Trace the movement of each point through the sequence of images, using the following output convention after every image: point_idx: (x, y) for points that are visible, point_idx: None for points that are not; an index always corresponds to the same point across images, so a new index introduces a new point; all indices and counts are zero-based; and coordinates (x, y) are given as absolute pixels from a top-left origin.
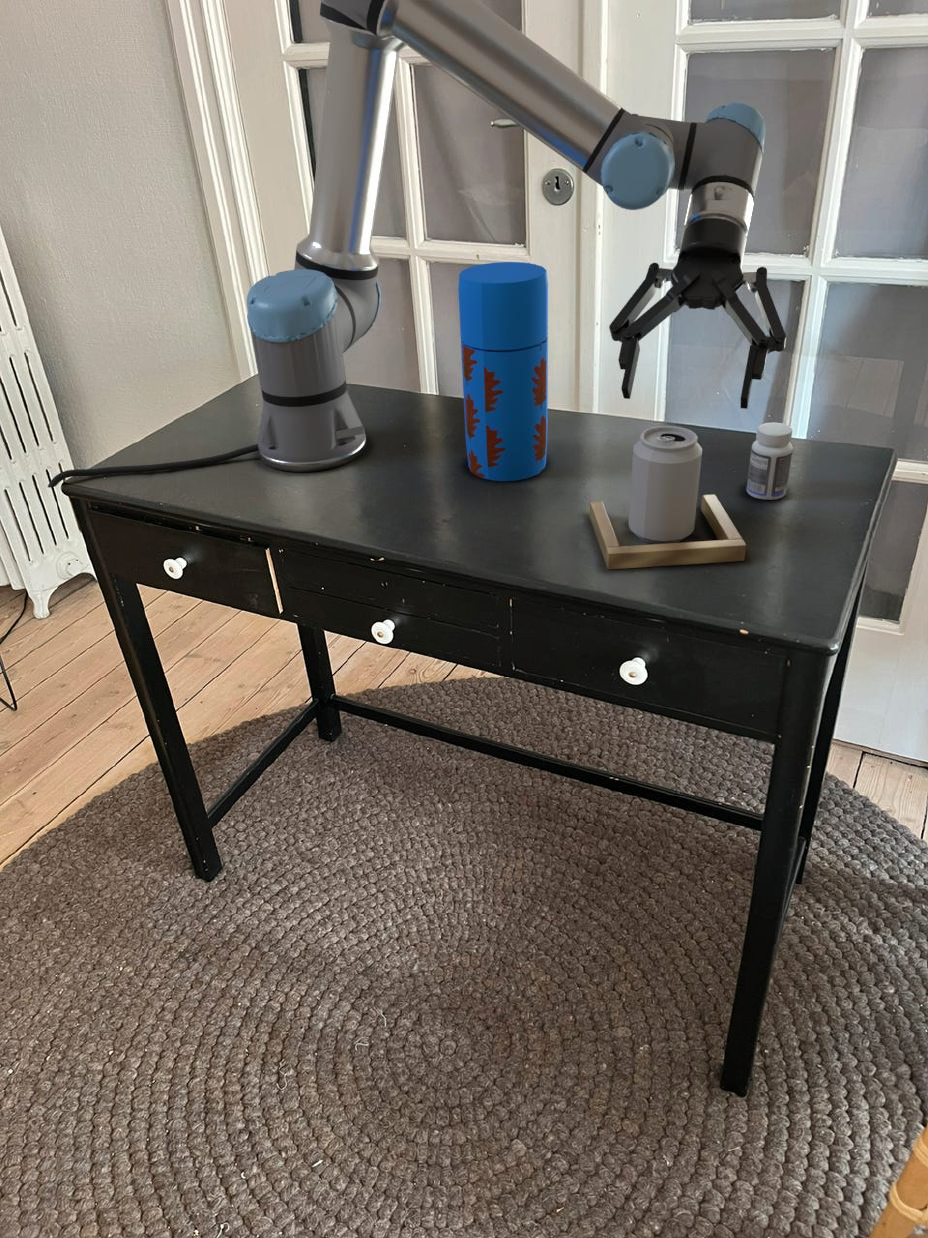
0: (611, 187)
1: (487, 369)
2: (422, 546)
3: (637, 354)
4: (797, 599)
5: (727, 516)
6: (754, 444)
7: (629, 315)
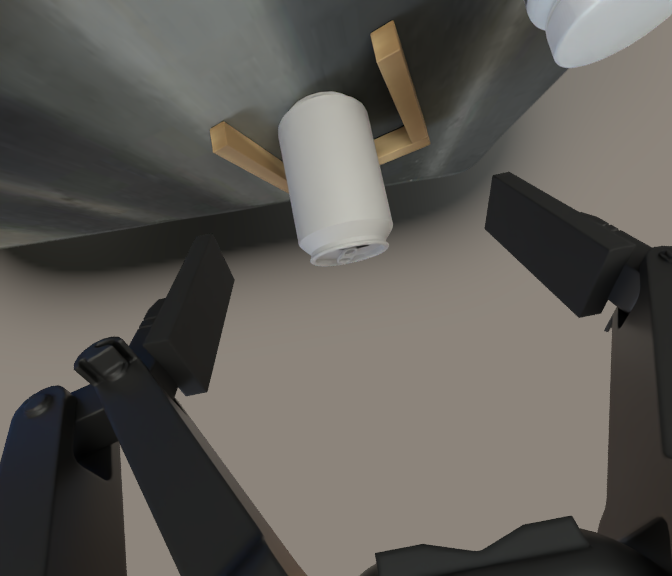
0: None
1: None
2: (116, 221)
3: (192, 331)
4: (462, 148)
5: (416, 105)
6: (539, 2)
7: (117, 496)
